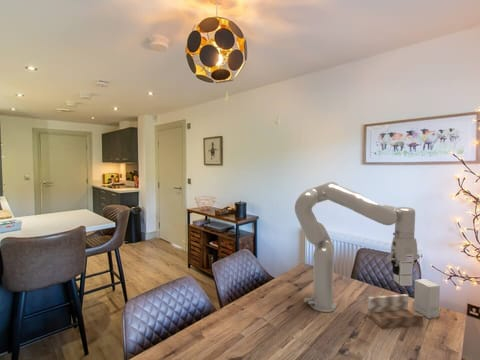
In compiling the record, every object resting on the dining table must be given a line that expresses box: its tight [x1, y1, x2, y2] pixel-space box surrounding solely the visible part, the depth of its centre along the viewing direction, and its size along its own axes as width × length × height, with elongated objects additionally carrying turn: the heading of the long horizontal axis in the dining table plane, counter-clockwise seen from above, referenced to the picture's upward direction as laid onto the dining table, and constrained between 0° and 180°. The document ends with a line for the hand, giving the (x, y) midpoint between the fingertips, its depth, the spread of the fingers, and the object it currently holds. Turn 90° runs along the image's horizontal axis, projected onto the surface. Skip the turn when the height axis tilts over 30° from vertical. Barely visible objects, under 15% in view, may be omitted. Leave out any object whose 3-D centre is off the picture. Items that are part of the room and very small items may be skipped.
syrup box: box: [392, 254, 414, 287], centre depth 120 cm, size 6×6×14 cm
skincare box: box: [413, 278, 441, 319], centre depth 128 cm, size 8×7×16 cm
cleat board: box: [367, 293, 424, 330], centre depth 123 cm, size 20×11×9 cm, turn 98°
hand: (402, 272), depth 120 cm, fingers closed on syrup box, 6 cm apart
